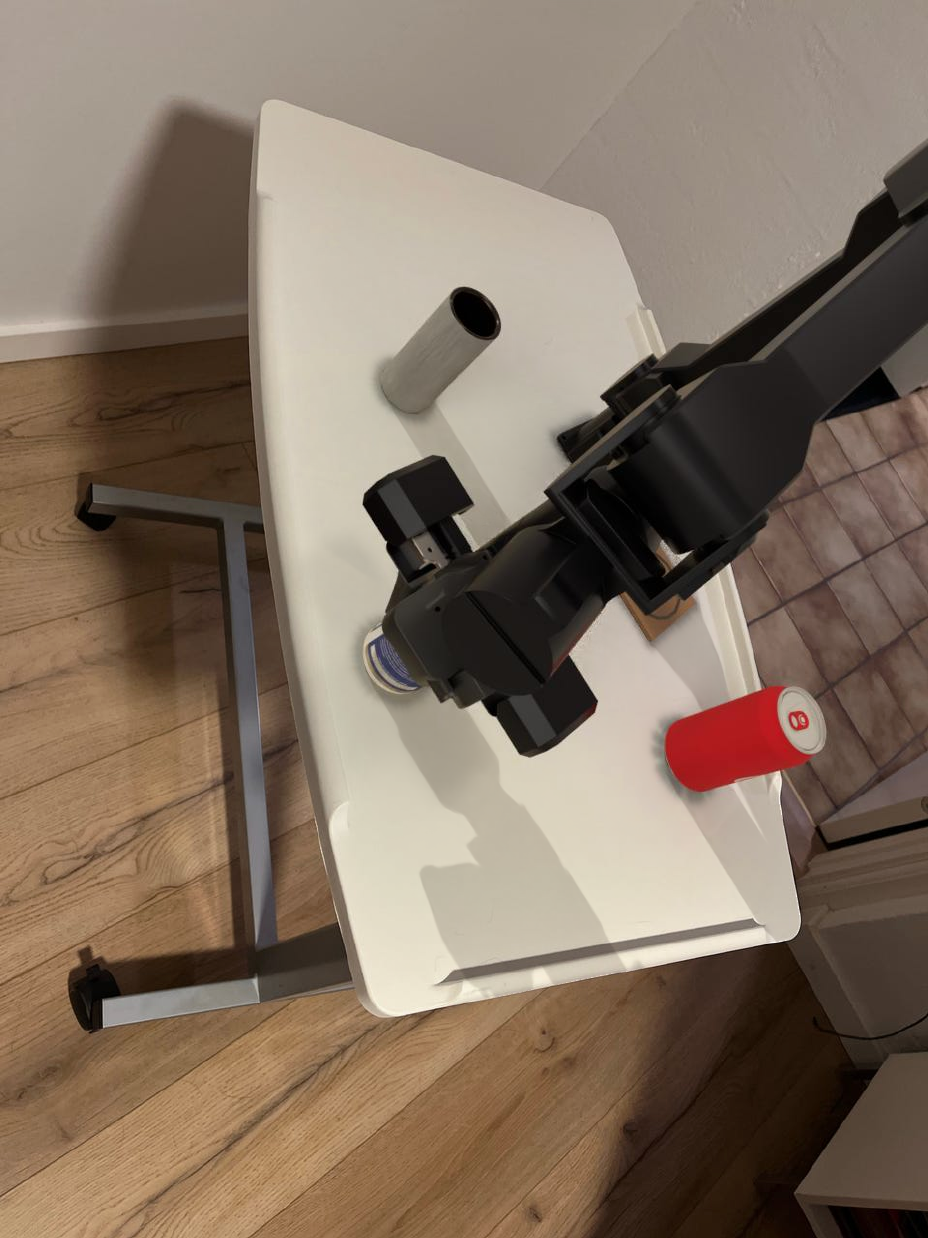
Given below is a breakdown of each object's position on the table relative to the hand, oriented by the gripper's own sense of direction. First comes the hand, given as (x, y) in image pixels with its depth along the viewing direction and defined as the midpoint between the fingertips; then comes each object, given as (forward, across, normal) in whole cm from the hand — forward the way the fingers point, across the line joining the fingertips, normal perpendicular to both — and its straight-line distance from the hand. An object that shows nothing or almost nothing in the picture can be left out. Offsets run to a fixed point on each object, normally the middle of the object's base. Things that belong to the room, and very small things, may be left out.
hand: (413, 647), depth 61 cm
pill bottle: (+3, 0, 0) cm, 3 cm away
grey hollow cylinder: (+3, -18, +15) cm, 24 cm away
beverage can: (+3, +20, +20) cm, 28 cm away
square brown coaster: (+2, +6, +28) cm, 29 cm away
